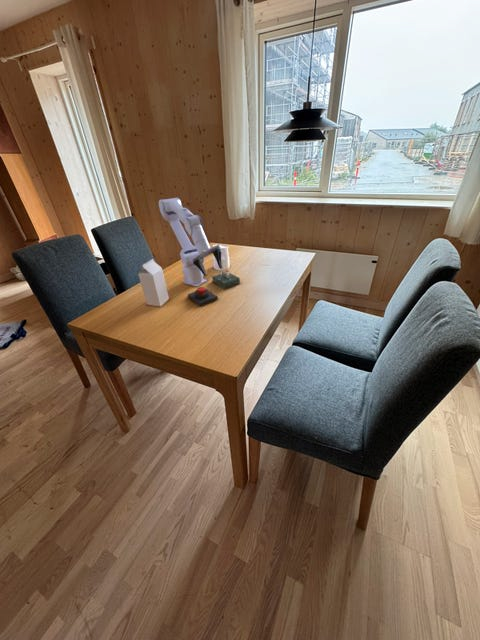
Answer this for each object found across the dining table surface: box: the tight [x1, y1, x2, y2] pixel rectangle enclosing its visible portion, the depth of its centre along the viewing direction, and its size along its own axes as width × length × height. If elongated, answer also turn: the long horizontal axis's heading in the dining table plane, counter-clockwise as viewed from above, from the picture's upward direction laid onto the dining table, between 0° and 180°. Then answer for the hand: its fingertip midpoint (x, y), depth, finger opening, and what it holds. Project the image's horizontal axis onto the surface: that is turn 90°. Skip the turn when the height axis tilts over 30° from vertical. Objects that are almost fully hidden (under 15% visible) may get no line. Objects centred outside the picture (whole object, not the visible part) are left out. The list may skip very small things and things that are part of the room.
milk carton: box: [137, 258, 170, 307], centre depth 114 cm, size 7×7×19 cm
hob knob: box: [220, 269, 230, 279], centre depth 129 cm, size 5×2×4 cm, turn 37°
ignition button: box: [196, 286, 206, 294], centre depth 117 cm, size 4×4×2 cm
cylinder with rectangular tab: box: [211, 244, 231, 271], centre depth 146 cm, size 9×9×12 cm
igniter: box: [187, 288, 218, 307], centre depth 118 cm, size 11×9×4 cm
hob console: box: [211, 272, 241, 290], centre depth 131 cm, size 11×9×3 cm
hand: (213, 271), depth 113 cm, fingers open, 7 cm apart
